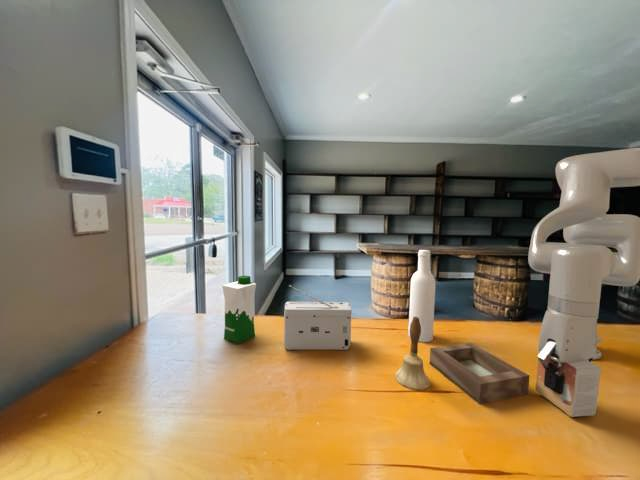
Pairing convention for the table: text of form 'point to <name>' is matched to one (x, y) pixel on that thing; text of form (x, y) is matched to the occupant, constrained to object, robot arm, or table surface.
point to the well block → (479, 372)
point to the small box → (573, 387)
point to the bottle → (423, 297)
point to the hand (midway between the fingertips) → (565, 386)
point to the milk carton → (239, 309)
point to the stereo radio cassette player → (317, 325)
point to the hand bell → (413, 363)
